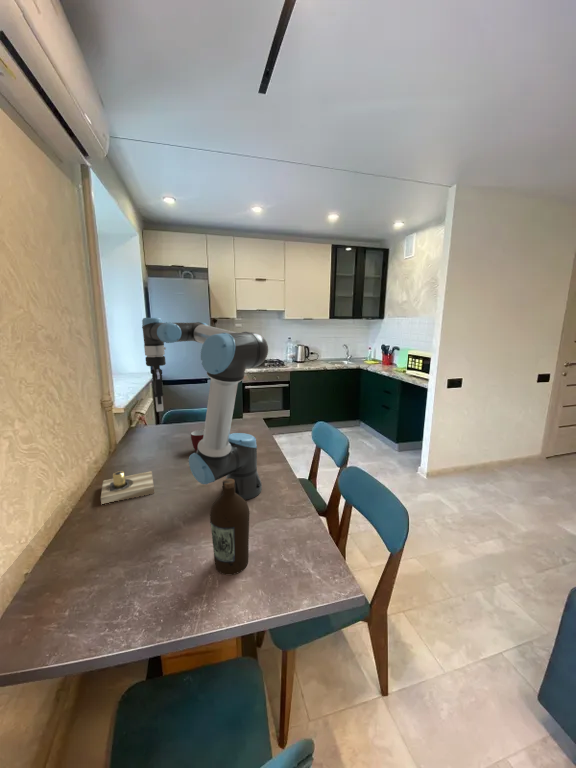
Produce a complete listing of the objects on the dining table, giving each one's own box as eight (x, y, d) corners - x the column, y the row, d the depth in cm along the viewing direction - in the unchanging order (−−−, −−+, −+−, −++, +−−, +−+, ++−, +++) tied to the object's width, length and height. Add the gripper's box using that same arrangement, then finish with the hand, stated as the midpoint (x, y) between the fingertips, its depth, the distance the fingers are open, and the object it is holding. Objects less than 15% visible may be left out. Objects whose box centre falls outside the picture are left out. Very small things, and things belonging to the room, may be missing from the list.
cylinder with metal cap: (126, 492, 123) (124, 474, 121) (115, 495, 121) (112, 476, 120) (126, 488, 126) (124, 469, 125) (114, 490, 125) (112, 472, 123)
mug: (209, 454, 158) (208, 436, 156) (193, 457, 155) (191, 438, 153) (206, 446, 168) (205, 429, 166) (191, 449, 165) (190, 431, 163)
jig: (154, 493, 123) (153, 486, 122) (101, 505, 115) (100, 497, 114) (152, 477, 135) (151, 471, 134) (104, 487, 127) (103, 480, 127)
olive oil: (225, 544, 95) (222, 469, 90) (257, 554, 91) (255, 475, 86) (204, 570, 85) (199, 487, 80) (238, 582, 81) (235, 495, 76)
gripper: (167, 356, 125) (171, 413, 129) (162, 353, 136) (167, 406, 141) (146, 358, 121) (152, 416, 126) (144, 354, 133) (149, 408, 137)
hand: (160, 410), depth 133 cm, fingers closed
